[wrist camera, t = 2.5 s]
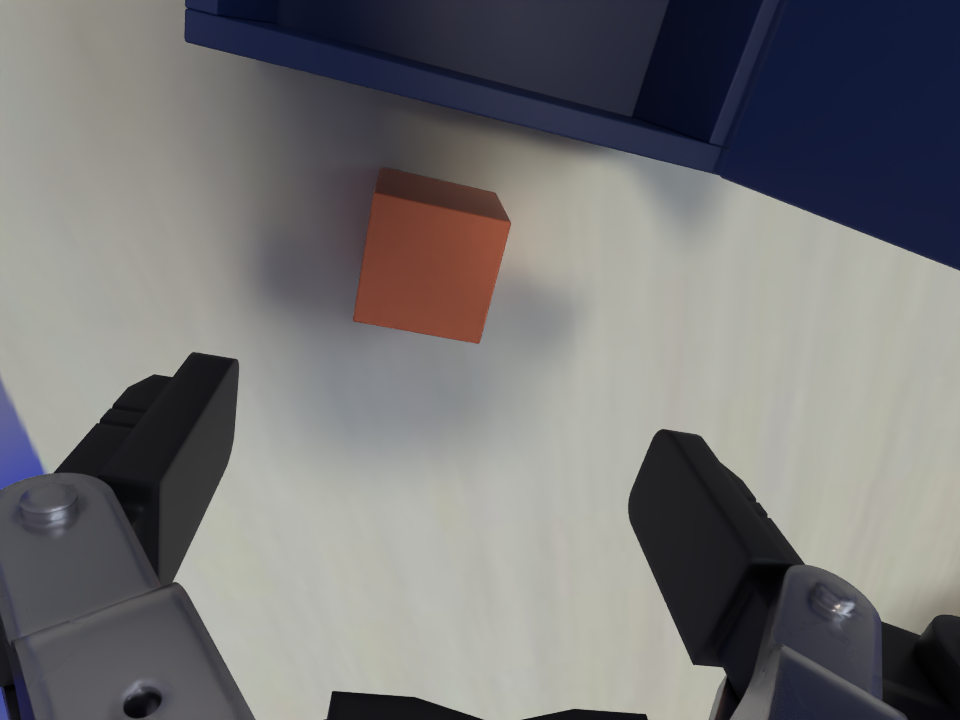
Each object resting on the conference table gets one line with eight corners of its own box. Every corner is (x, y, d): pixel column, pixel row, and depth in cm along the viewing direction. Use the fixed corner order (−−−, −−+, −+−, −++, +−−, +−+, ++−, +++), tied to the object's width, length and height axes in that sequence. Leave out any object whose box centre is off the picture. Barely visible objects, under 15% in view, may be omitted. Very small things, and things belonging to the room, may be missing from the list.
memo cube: (362, 277, 28) (352, 322, 24) (380, 166, 26) (373, 191, 21) (470, 298, 29) (479, 344, 25) (496, 192, 27) (512, 222, 22)
